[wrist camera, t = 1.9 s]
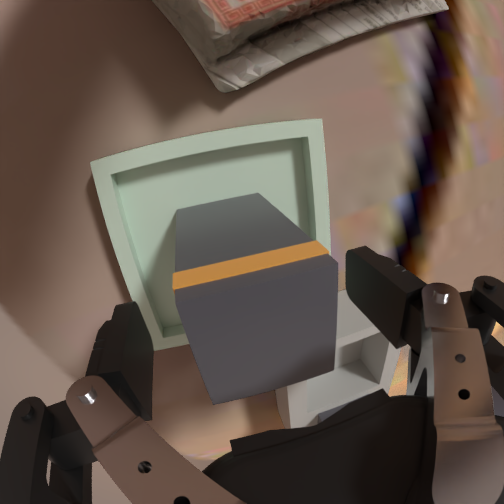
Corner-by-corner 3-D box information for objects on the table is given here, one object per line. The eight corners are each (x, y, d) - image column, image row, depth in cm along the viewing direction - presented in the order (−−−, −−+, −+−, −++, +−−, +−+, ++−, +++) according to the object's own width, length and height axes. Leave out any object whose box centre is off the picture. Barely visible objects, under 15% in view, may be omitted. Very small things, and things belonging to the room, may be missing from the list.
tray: (98, 158, 12) (90, 162, 11) (308, 118, 14) (321, 118, 13) (155, 334, 17) (154, 351, 15) (320, 294, 18) (330, 307, 17)
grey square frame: (263, 312, 18) (321, 434, 10) (374, 280, 19) (462, 362, 11) (278, 410, 23) (313, 498, 15) (361, 381, 24) (410, 454, 16)
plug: (175, 208, 14) (172, 301, 6) (259, 191, 14) (339, 260, 7) (193, 283, 15) (212, 405, 8) (268, 265, 16) (335, 370, 9)
